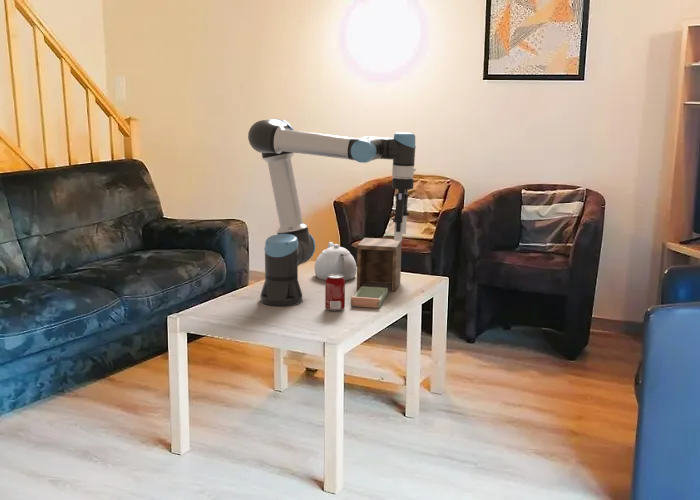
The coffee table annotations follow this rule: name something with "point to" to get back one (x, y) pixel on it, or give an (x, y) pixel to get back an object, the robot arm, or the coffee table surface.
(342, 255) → the teapot
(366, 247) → the open wooden crate
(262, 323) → the coffee table surface
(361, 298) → the tray
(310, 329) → the coffee table surface
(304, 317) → the coffee table surface
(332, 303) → the soda can
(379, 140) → the robot arm
